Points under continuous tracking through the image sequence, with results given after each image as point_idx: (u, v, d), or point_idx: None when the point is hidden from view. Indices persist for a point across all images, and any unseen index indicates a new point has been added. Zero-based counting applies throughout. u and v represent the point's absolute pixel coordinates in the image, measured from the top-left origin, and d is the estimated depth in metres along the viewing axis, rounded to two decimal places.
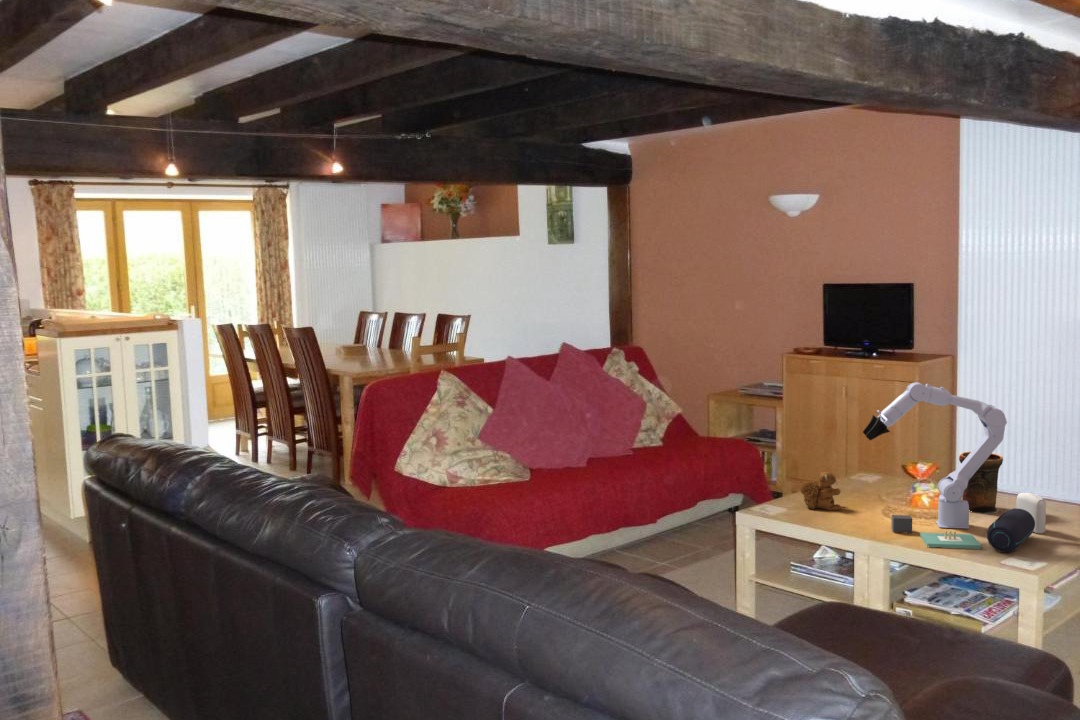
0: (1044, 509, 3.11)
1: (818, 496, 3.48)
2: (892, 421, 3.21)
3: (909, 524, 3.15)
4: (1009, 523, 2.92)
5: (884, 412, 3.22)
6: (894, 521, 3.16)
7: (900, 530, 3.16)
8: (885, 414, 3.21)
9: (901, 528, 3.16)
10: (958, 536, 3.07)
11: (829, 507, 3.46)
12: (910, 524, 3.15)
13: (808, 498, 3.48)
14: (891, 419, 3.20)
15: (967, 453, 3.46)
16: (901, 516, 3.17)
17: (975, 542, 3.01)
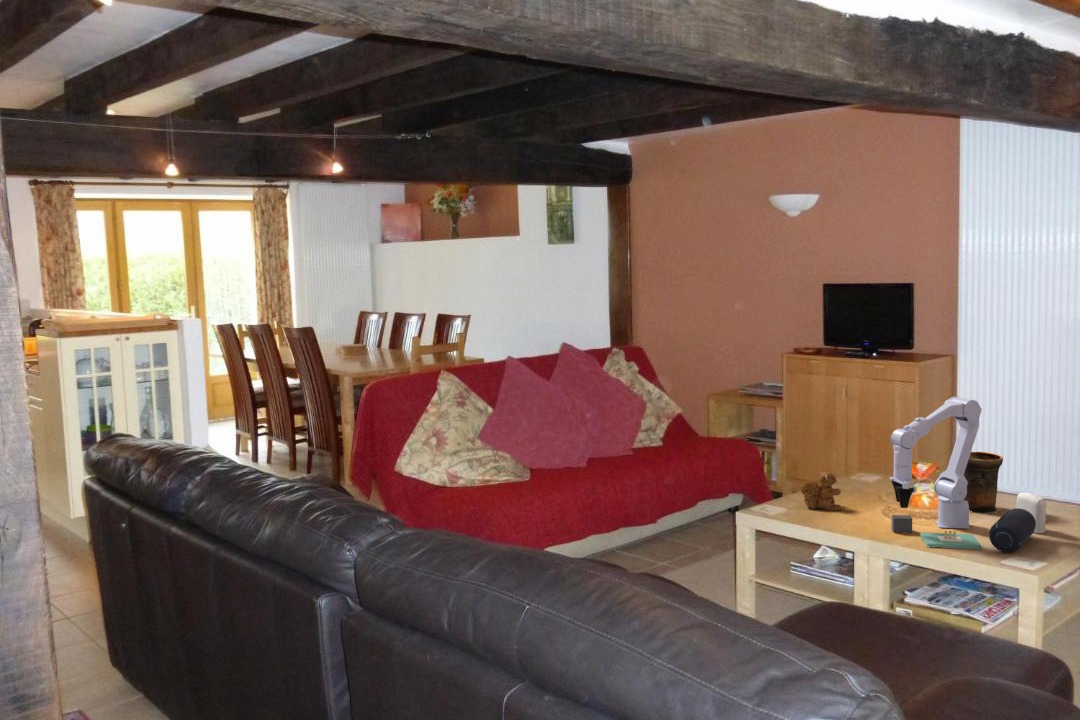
0: (1044, 509, 3.11)
1: (818, 496, 3.48)
2: (908, 477, 3.13)
3: (909, 524, 3.15)
4: (1012, 523, 2.92)
5: (896, 476, 3.15)
6: (894, 521, 3.16)
7: (900, 530, 3.16)
8: (898, 477, 3.14)
9: (901, 528, 3.16)
10: (958, 536, 3.07)
11: (829, 507, 3.45)
12: (910, 524, 3.15)
13: (808, 498, 3.48)
14: (906, 477, 3.13)
15: None
16: (901, 516, 3.17)
17: (975, 542, 3.01)
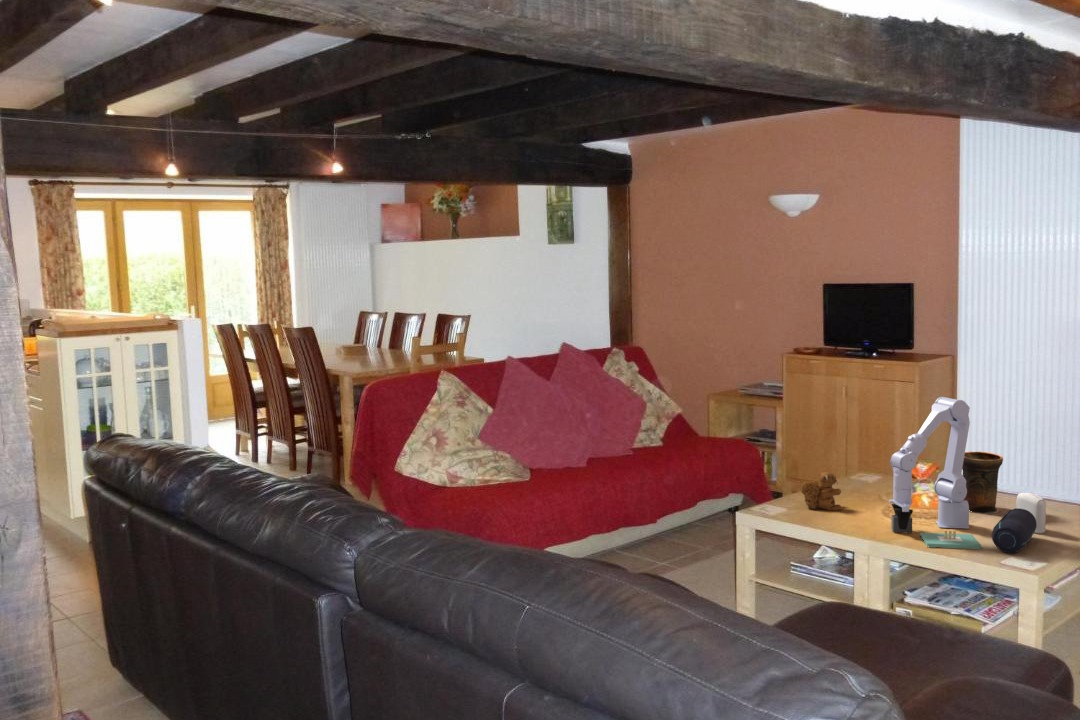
0: (1044, 509, 3.11)
1: (819, 496, 3.47)
2: (908, 500, 3.14)
3: (909, 524, 3.15)
4: (1015, 523, 2.92)
5: (895, 499, 3.16)
6: (894, 521, 3.16)
7: (900, 530, 3.16)
8: (897, 500, 3.15)
9: None
10: (958, 536, 3.07)
11: (830, 507, 3.45)
12: (910, 524, 3.15)
13: (809, 498, 3.48)
14: (905, 500, 3.14)
15: (967, 453, 3.46)
16: None
17: (975, 542, 3.01)
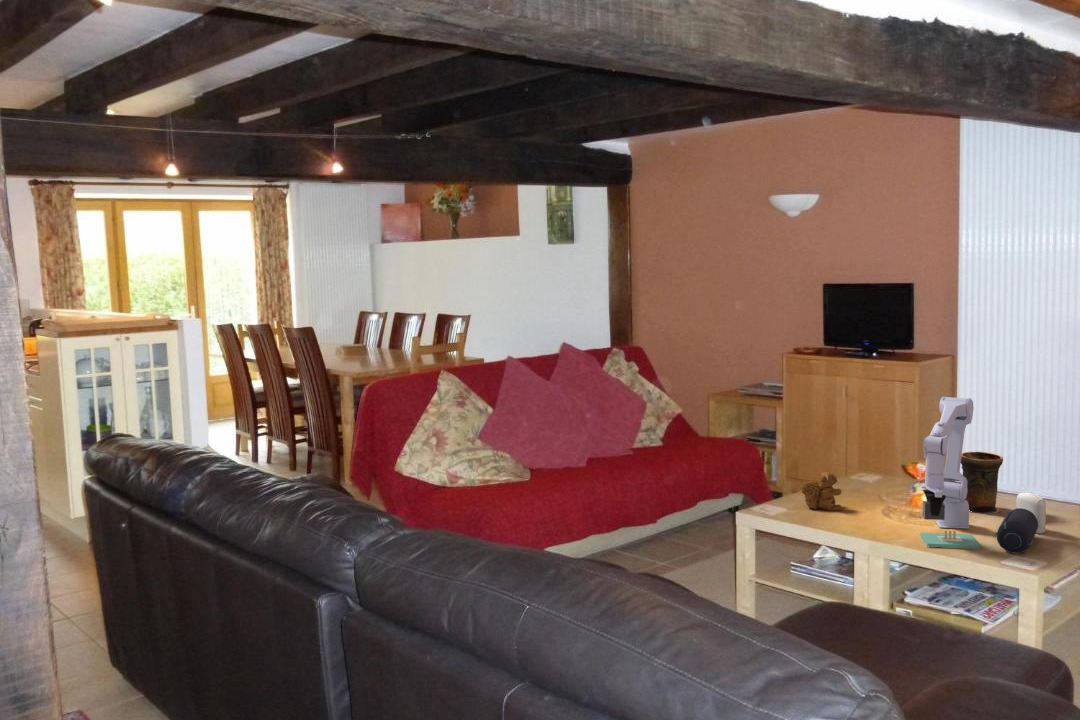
0: (1044, 509, 3.11)
1: (819, 496, 3.47)
2: (940, 486, 3.05)
3: (941, 510, 3.06)
4: (1020, 523, 2.91)
5: (927, 484, 3.06)
6: (926, 507, 3.07)
7: (932, 516, 3.07)
8: (930, 485, 3.05)
9: None
10: (958, 536, 3.07)
11: (830, 507, 3.45)
12: (942, 510, 3.06)
13: (809, 498, 3.47)
14: (938, 485, 3.04)
15: (967, 453, 3.46)
16: None
17: (975, 542, 3.01)
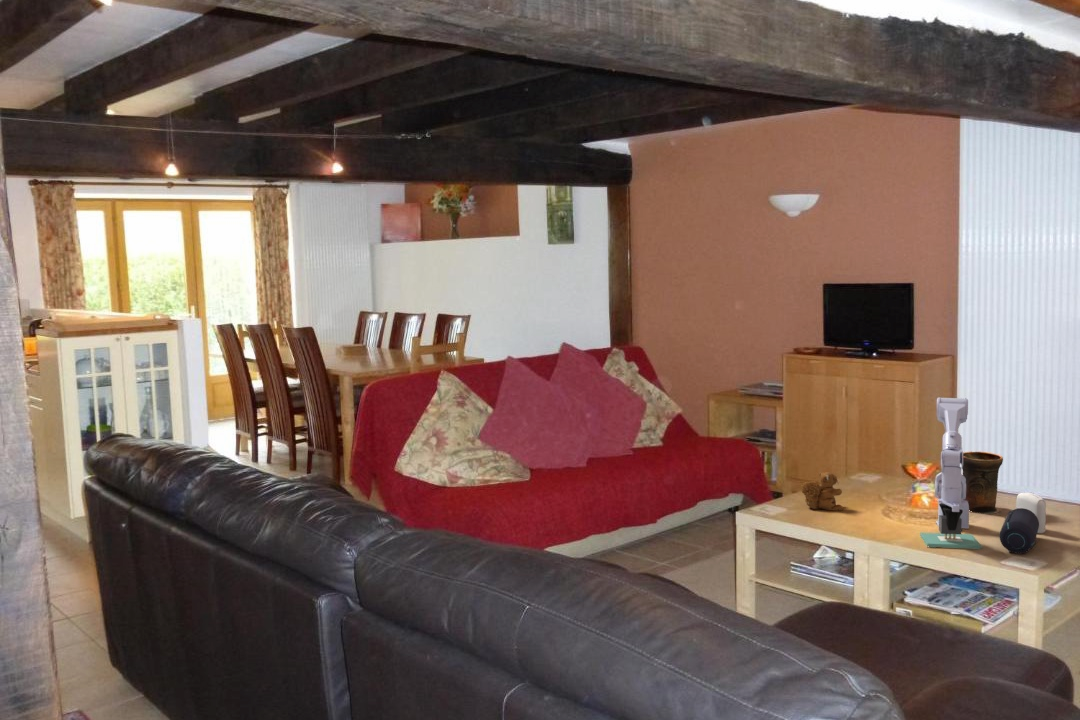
0: (1044, 509, 3.11)
1: (819, 496, 3.47)
2: (957, 500, 3.01)
3: (958, 525, 3.02)
4: (1023, 523, 2.91)
5: (944, 498, 3.02)
6: (942, 522, 3.03)
7: (949, 531, 3.03)
8: (946, 499, 3.01)
9: None
10: (958, 536, 3.07)
11: (831, 507, 3.45)
12: (959, 525, 3.02)
13: (809, 498, 3.47)
14: (955, 499, 3.00)
15: (967, 453, 3.46)
16: None
17: (975, 542, 3.01)
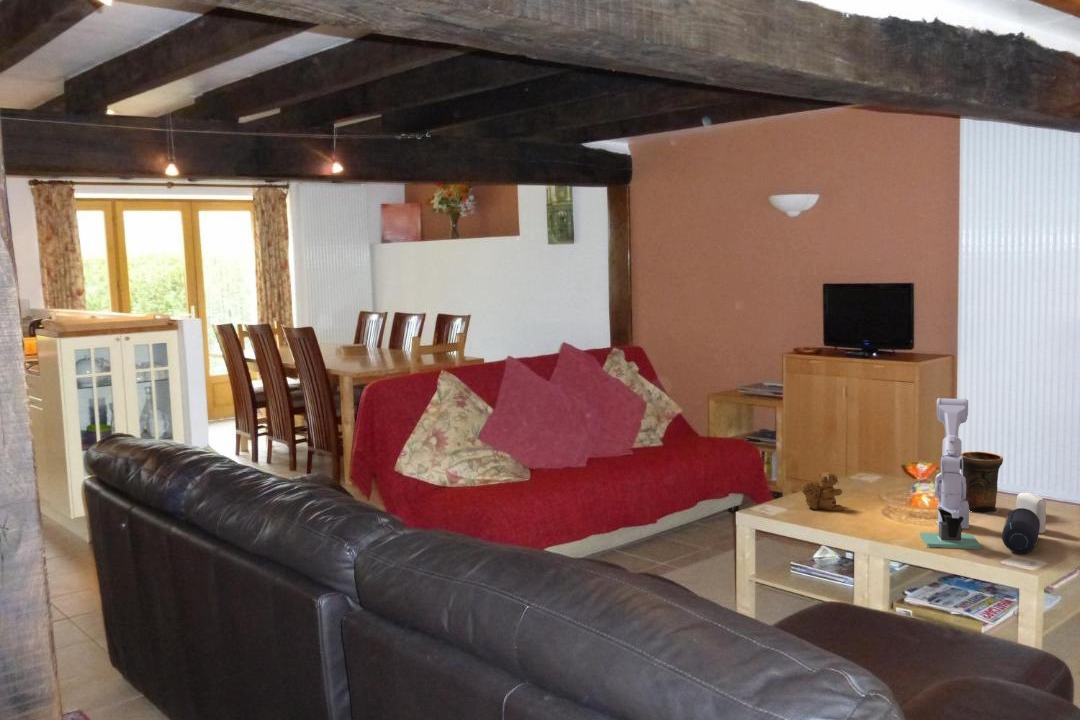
0: (1044, 509, 3.11)
1: (820, 496, 3.47)
2: (957, 506, 3.01)
3: (958, 531, 3.02)
4: (1025, 523, 2.91)
5: (944, 504, 3.02)
6: (942, 528, 3.03)
7: (948, 537, 3.03)
8: (946, 506, 3.02)
9: None
10: None
11: (831, 507, 3.45)
12: (959, 531, 3.02)
13: (810, 498, 3.47)
14: (955, 506, 3.01)
15: (967, 453, 3.46)
16: None
17: (975, 542, 3.01)
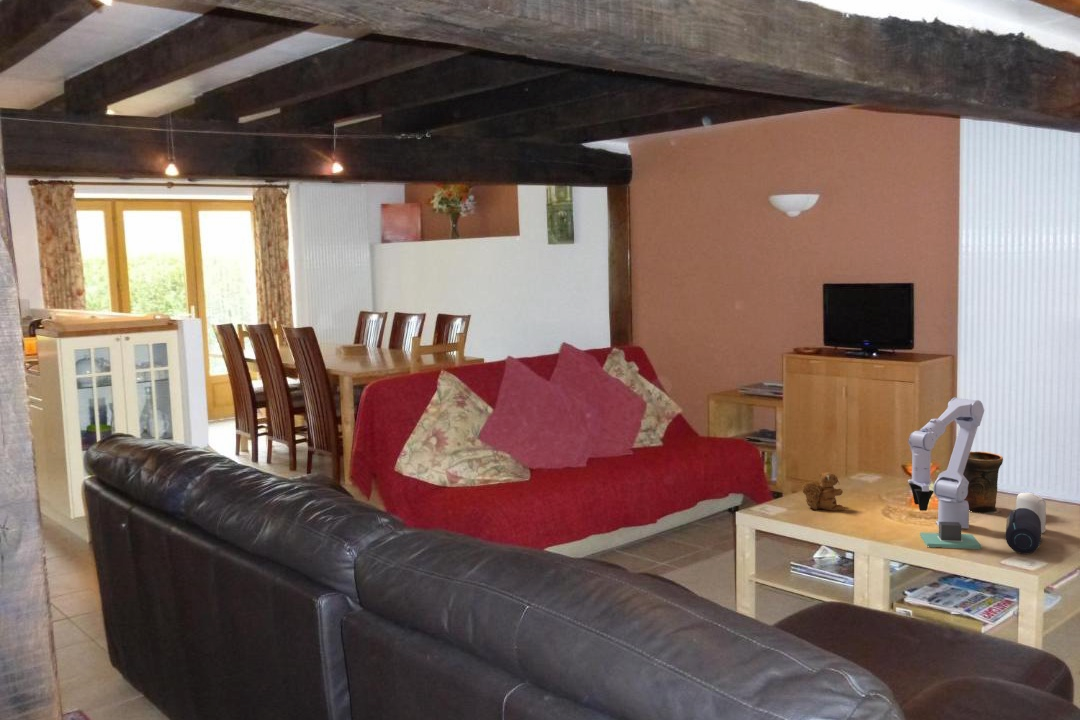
0: (1044, 509, 3.11)
1: (820, 496, 3.47)
2: (927, 480, 3.10)
3: (958, 531, 3.02)
4: (1029, 523, 2.91)
5: (914, 478, 3.12)
6: (942, 528, 3.03)
7: (948, 537, 3.03)
8: (917, 480, 3.11)
9: (949, 536, 3.03)
10: None
11: (831, 507, 3.45)
12: (959, 531, 3.02)
13: (810, 498, 3.47)
14: (925, 479, 3.10)
15: None
16: (949, 523, 3.04)
17: (975, 542, 3.01)
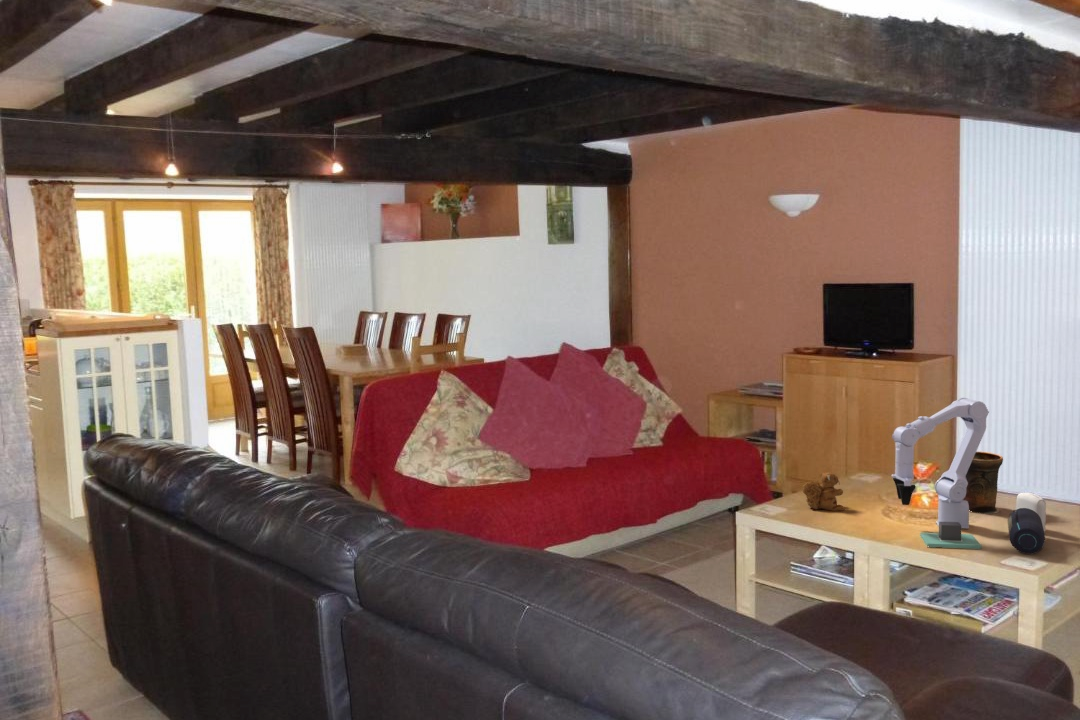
0: (1044, 509, 3.11)
1: (821, 497, 3.47)
2: (910, 475, 3.16)
3: (958, 531, 3.02)
4: (1033, 524, 2.91)
5: (897, 473, 3.18)
6: (942, 528, 3.03)
7: (948, 537, 3.03)
8: (899, 474, 3.17)
9: (949, 536, 3.03)
10: None
11: (832, 508, 3.45)
12: (959, 531, 3.02)
13: (811, 499, 3.47)
14: (907, 474, 3.16)
15: None
16: (949, 523, 3.04)
17: (975, 542, 3.01)
